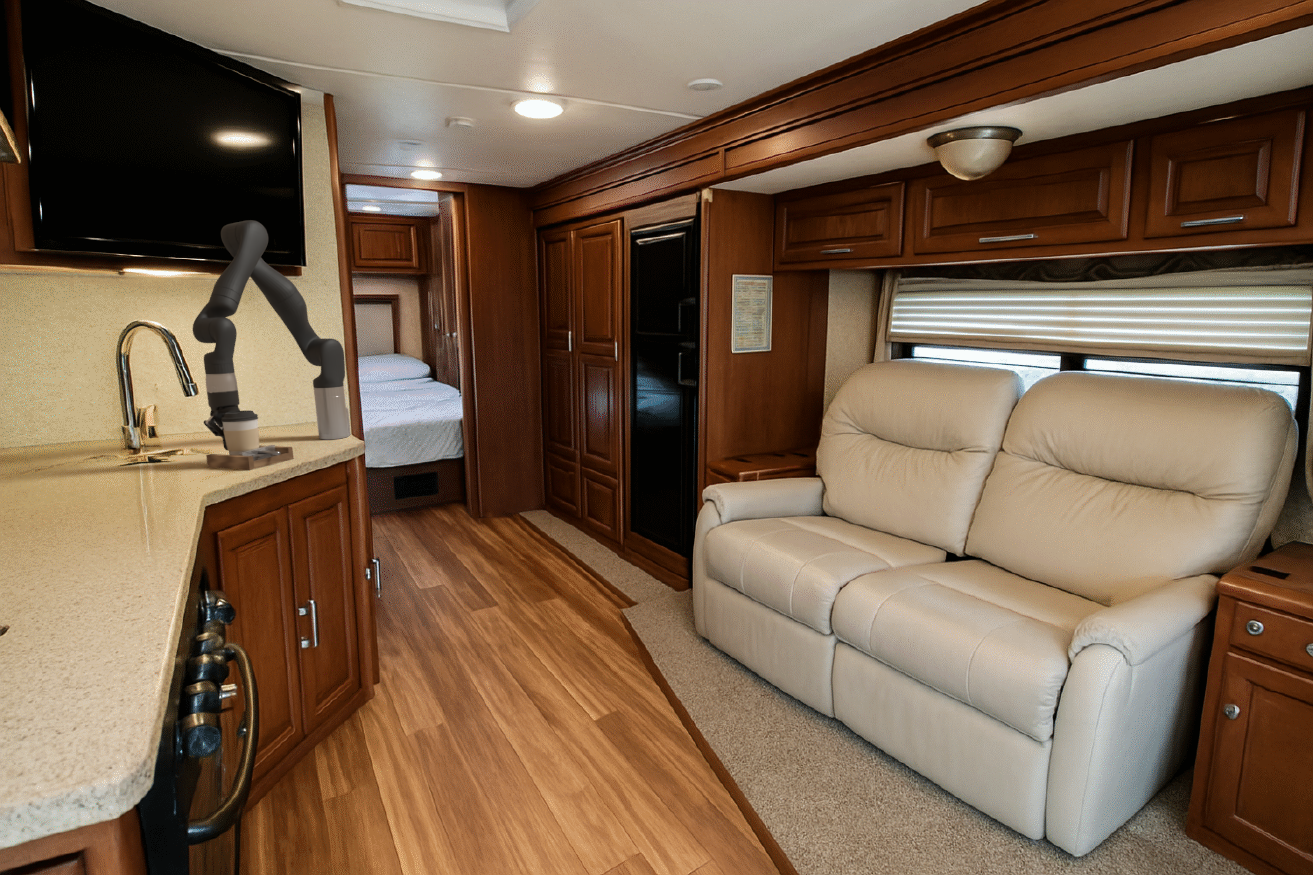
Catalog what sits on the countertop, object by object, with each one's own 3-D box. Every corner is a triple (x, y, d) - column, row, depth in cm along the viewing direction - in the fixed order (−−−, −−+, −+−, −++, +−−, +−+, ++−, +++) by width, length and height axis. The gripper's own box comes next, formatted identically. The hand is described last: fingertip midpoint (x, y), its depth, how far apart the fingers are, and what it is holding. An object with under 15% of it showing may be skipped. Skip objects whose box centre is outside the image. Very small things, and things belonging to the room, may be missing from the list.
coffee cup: (221, 464, 200) (214, 411, 197) (253, 458, 207) (247, 407, 205) (236, 467, 195) (229, 413, 192) (269, 461, 202) (263, 409, 200)
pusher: (240, 466, 195) (238, 452, 194) (273, 458, 205) (271, 444, 205) (263, 467, 193) (262, 453, 192) (295, 459, 203) (294, 445, 202)
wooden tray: (207, 467, 196) (206, 455, 196) (253, 456, 210) (252, 445, 210) (249, 470, 192) (248, 457, 191) (293, 458, 206) (292, 446, 205)
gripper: (232, 386, 207) (239, 445, 210) (190, 392, 195) (199, 454, 198) (252, 387, 205) (259, 446, 208) (211, 392, 192) (220, 455, 195)
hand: (230, 449), depth 203 cm, fingers closed
